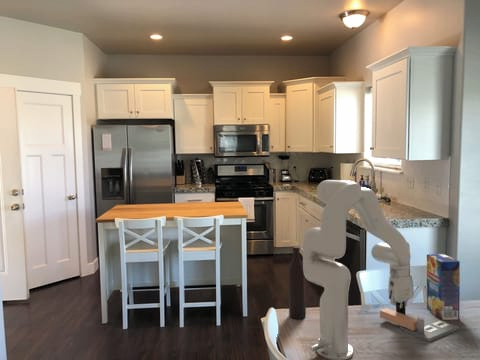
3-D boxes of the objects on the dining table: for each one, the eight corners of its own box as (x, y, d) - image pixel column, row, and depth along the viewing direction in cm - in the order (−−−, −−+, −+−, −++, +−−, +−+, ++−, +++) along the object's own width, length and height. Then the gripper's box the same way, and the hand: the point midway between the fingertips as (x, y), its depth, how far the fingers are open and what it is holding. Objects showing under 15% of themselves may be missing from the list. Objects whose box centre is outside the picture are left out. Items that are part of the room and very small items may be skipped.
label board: (428, 341, 135) (428, 324, 134) (400, 329, 145) (399, 313, 145) (458, 329, 143) (458, 313, 143) (429, 318, 154) (429, 303, 153)
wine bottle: (306, 313, 162) (305, 245, 161) (305, 320, 155) (303, 249, 154) (290, 312, 164) (288, 245, 162) (288, 319, 157) (286, 248, 155)
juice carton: (459, 319, 152) (459, 261, 151) (441, 319, 152) (441, 262, 151) (443, 307, 164) (443, 254, 163) (426, 308, 164) (426, 254, 163)
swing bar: (419, 327, 142) (419, 320, 142) (413, 330, 140) (413, 322, 140) (386, 315, 154) (386, 307, 154) (380, 317, 152) (379, 310, 152)
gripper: (395, 277, 142) (396, 324, 144) (420, 270, 149) (421, 314, 151) (379, 272, 149) (380, 317, 150) (404, 265, 156) (405, 308, 157)
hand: (400, 315), depth 150 cm, fingers closed
